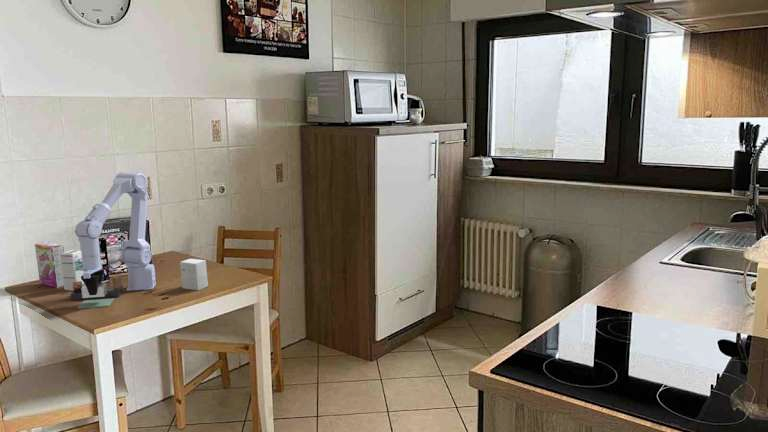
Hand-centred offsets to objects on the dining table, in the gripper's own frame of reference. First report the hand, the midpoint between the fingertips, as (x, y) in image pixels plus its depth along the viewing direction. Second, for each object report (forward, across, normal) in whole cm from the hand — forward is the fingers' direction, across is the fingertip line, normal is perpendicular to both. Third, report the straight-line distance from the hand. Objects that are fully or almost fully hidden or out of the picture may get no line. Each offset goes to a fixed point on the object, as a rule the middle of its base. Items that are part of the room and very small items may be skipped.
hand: (94, 292), depth 204 cm
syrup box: (+4, -22, -13) cm, 26 cm away
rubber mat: (+4, 0, 0) cm, 4 cm away
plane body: (+4, -10, -2) cm, 11 cm away
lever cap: (+1, 0, 0) cm, 1 cm away
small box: (+4, -12, +32) cm, 34 cm away
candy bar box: (+4, -29, -23) cm, 37 cm away
